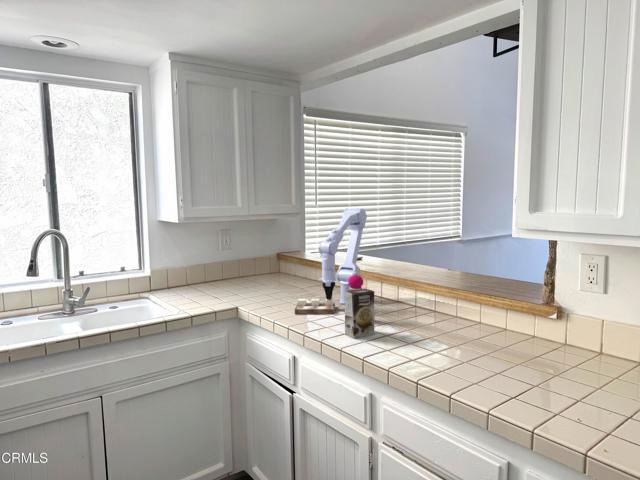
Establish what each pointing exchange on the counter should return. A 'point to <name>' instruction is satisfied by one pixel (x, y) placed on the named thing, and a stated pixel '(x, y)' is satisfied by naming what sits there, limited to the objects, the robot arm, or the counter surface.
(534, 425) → the counter surface
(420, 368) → the counter surface
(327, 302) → the button
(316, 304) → the middle button
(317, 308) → the button board
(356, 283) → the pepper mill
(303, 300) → the button
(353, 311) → the coffee box
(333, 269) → the robot arm
